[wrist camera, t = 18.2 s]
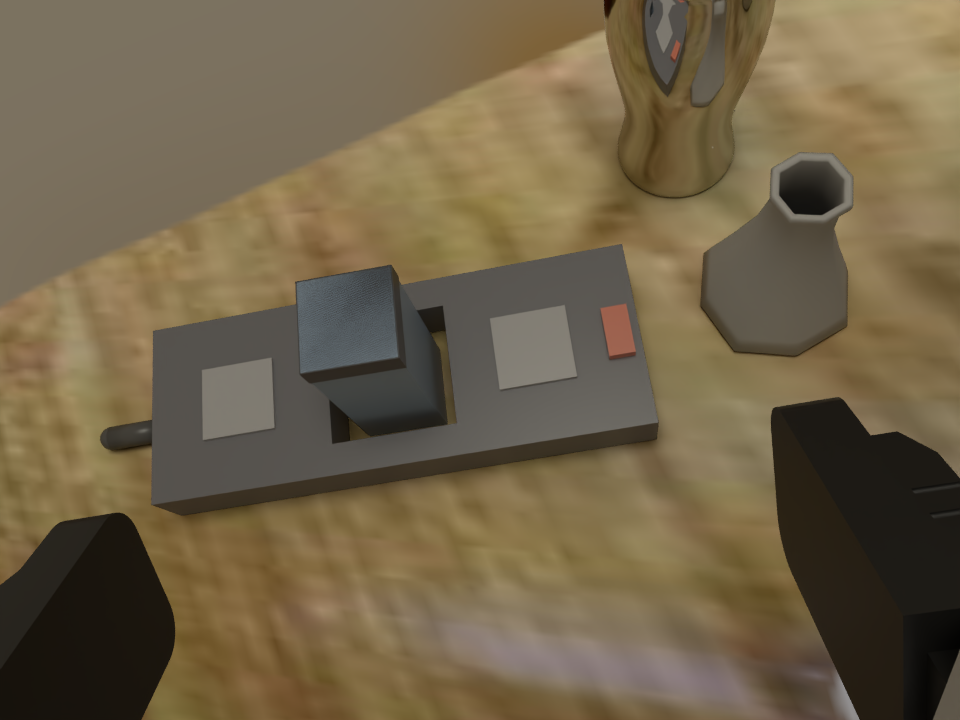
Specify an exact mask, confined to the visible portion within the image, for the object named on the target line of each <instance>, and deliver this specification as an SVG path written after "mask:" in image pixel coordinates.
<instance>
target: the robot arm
mask: <svg viewBox="0 0 960 720" xmlns="http://www.w3.org/2000/svg"><path fill="white" fill-rule="evenodd" d="M771 433H772V447H773V460H774V473H775V487H776V500H777V514H778V523H779V530H780V535H781V540H782V544H783V548H784V552H785V556H786V559H787V562H788V565H789V567H790V570H791V572H792V575H793V577H794V579H795V581H796V583H797V585H798V588H799V590H800V592H801V594H802V596H803V598H804V600H805V603H806V605H807V607H808V609H809V611H810V613H811V616H812V618H813V620H814V622H815V624H816V626H817V629H818V631H819V633H820V635H821V637H822V639H823V641H824V644H825V646H826V648H827V650H828V652H829V654H830V657H831V659H832V661H833V663H834V665H835V667H836V670H837V672H838V674H839V676H840V678H841V680H842V682H843V685H844V687H845V689H846V691H847V693H848V695H849V697H850V700H851V702H852V704H853V706H854V708H855V710H856V713H857V715H858V717H859V719H860V720H960V478H959V477H958V476H957V474H956V473H955V472H954V471H953V470H952V469H951V468H950V466H949V465H948V464H947V463H946V462H945V461H944V459H943V458H942V457H941V456H940V455H939V454H938V453H937V452H936V451H934V450H932V449H930V448H928V447H926V446H924V445H922V444H920V443H918V442H917V441H915V440H913V439H911V438H909V437H907V436H905V435H903V434H901V433H899V432H898V431H897V432H891V433H884V434H878V435H870V434H869V433H868V432H867V430H866V429H865V428H864V426H863V425H862V424H861V422H860V421H859V420H858V418H857V417H856V416H855V414H854V413H853V412H852V410H851V409H850V408H849V407H848V405H847V404H846V403H845V401H844V400H843V399H841V398H840V397H835V398H829V399H823V400H817V401H811V402H805V403H799V404H792V405H786V406H780V407H775V408H773V410H772V414H771ZM174 642H175V622H174V616H173V612H172V608H171V606H170V603H169V601H168V599H167V596H166V594H165V592H164V590H163V587H162V585H161V583H160V580H159V578H158V576H157V574H156V571H155V569H154V567H153V565H152V562H151V560H150V558H149V556H148V553H147V551H146V549H145V547H144V544H143V542H142V540H141V538H140V535H139V533H138V531H137V529H136V527H135V525H134V523H133V522H132V520H131V519H130V518H129V517H128V516H126V515H125V514H123V513H111V514H105V515H99V516H93V517H87V518H81V519H74V520H68V521H63V522H60V523H58V524H57V525H55V527H54V528H53V529H52V530H51V531H50V532H49V534H48V535H47V536H46V537H45V539H44V540H43V541H42V543H41V544H40V545H39V546H38V548H37V549H36V550H35V551H34V553H33V554H32V555H31V556H30V558H29V559H28V560H27V562H26V563H25V564H24V565H23V567H22V568H21V569H20V570H19V571H18V572H16V573H15V574H14V575H13V576H11V577H10V578H9V579H8V580H6V581H5V582H4V583H3V584H1V585H0V720H141V719H142V717H143V715H144V713H145V711H146V709H147V707H148V704H149V702H150V700H151V698H152V696H153V694H154V692H155V690H156V688H157V686H158V683H159V681H160V679H161V677H162V675H163V673H164V671H165V669H166V667H167V665H168V662H169V660H170V658H171V655H172V652H173V648H174Z"/></svg>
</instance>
